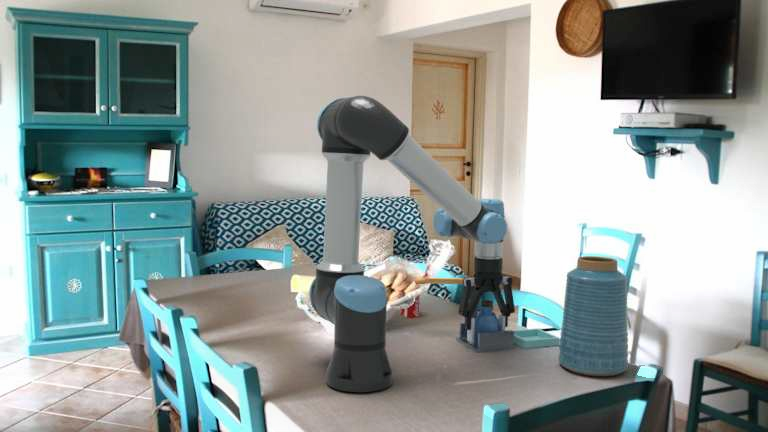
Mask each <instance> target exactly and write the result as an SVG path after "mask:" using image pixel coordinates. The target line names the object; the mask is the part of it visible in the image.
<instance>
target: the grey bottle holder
mask: <svg viewBox="0 0 768 432" xmlns="http://www.w3.org/2000/svg"><path fill="white" fill-rule="evenodd" d="M475 286H476V285H473V286H471V287H472V288H471V294H470V299H469V302H470V300H471V298H472V295H473V293H474V289H475ZM478 306H479V304H478V305H477V307H476V309H475V312H474V314H473V316H472V317H473V318H475V320H476V318H477V316H478V309H479V307H478ZM458 331H459V335H458V336H457V337H455V341H456V342H458V343H459V344H461V345H462V346H464V347H465V348H467V349H470V350H471V351H473V352H474V353H484V352H493V351H494V352H495V351H503V350H504V351H505V350H506V351H507V350H513V349H514V344H513V343H514V331H513V329H511V330H510V329H509V330H505V331H495V332H482V333H478V347H475V346H474V345H473V343H471V342H469V341H468V340H467V329H465V322H459V330H458Z"/></svg>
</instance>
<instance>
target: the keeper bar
mask: <svg viewBox="0 0 768 432" xmlns="http://www.w3.org/2000/svg"><path fill="white" fill-rule="evenodd" d="M464 278H465V277H464ZM464 278H463V277H461V278H460V277H459V278H456V277H453V278H452V277H425V278H424V276H418V277H417V276H416V277H415V279H414V280H415V283H416V284H420V285H426V284H427V285H429V284H430V283H431V284H435V285H463V279H464ZM469 278H470V277H468V278H466V279H469ZM431 284H430V285H431ZM473 285H475V283H473Z"/></svg>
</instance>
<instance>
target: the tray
mask: <svg viewBox="0 0 768 432" xmlns="http://www.w3.org/2000/svg"><path fill="white" fill-rule="evenodd" d="M512 330H513V329H512ZM513 331H514V344H515V345H517V346H518V347H520V348H522V349H523V350H530V349H532V350H533V349H542V347H543V348H550V346H552V347H559V346H560V338H561V337H558V336H557V335H554V334H551V333H550V332H547V331H545V330H543V329H541V328H527V329H526V328H525V329H515V330H513ZM514 344H513V345H514ZM558 345H559V346H558Z"/></svg>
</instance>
